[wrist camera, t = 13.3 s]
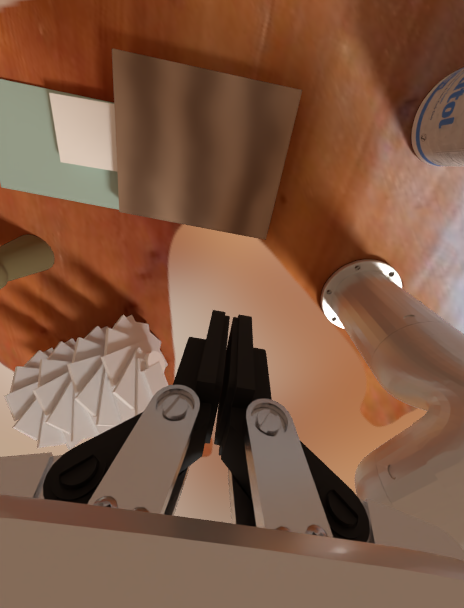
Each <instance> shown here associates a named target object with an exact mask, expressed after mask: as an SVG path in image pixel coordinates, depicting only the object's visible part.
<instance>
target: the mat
mask: <svg viewBox="0 0 464 608" xmlns="http://www.w3.org/2000/svg"><path fill="white" fill-rule="evenodd" d="M49 93H54V94H60V95H66V96H71V97H77V98H83V99H88V100H94V101H100V102H105V103H111V104H114V103H112V102H108V101H103V100H98V99H93V98H89V97H84V96H79V95H74V94H70V93H65V92H60V91H55V90H50V89H46V88H41V87H36V86H31V85H27V84H22V83H17V82H12V81H8V80H3V79H0V183H1V187H3V188H8V189H13V190H19V191H24V192H29V193H34V194H40V195H45V196H50V197H55V198H60V199H66V200H71V201H76V202H81V203H87V204H92V205H97V206H102V207H108V208H113V209H118V210H119V195H118V173H117V172H116V171H110V170H104V169H98V168H92V167H86V166H80V165H75V164H69V163H63V162H60V156H59V150H58V144H57V138H56V132H55V126H54V120H53V114H52V108H51V102H50V96H49Z"/></svg>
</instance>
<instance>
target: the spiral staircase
mask: <svg viewBox="0 0 464 608" xmlns="http://www.w3.org/2000/svg"><path fill="white" fill-rule="evenodd" d="M160 345H161V341H160V340H159V339H157V338H156V337H155V336H154V335H153V334H152V333H150V331H149V324H146V323H140V322H136V321H135V320H134V318H133V316H132V315H130V316H128V317H125V316H124V315H122V316H121V317H120V318H119V320H118V321H117V323H115V325H114V327H113V328H112V329H111V328H108V326H106V327H104V328H100V327H99V326H96V327H95V328H94V329H93V330H92V331H91V332H90V333H89V334H88V335H87V336H86V337H85V338H84V339H83V338H80V337H79V338H77V341H76V342H75V341H74V339H73V338H72V339H70V340H68V341H67V342H65V343H63V342H62V341H61V342H59V344H58V345H57V346H56V348H55V349H54V350H53V348H50V349H48V350H46V351H44V352H42V351H40V350H39V351H38V352H37V353H36V354H35V355H34V356H33V357H32V358H31V359H30V360H29V361H28V362H27V363H26V364H25V365H24V366H23V367H19V366H17V367H16V368H15V372H14V377H13V382H12V386H11V391H10V394H7V395H5V396H4V397H5V400H6V402H7V404H8V407H9V409H10V412H11V414H12V416H13V419H14V421H16V420H18V419H19V420H18V421H17V422H16V424H15V425H14V426H13V428H14V429H16V430H18V431H20V432H22V433H24V434H25V435H27V436H29V437H31V438H33V439H34V440H38V444H37V448H41V447H48V446H56V445H64V444H66V446H67V448H68V449H71V448H72V447H74V446H75V445H76V444H78V443H79V442H80V441H81V440H83V439H86V438H90V437H95V436H98V435H100V434H101V433H103V432H105V431H107V430H109V429H111V428H113V427H115V426H117V425H119V424H121V423H123V422H124V421H126V420H128V419H130V418H132V417H134V416H136V415H138V414H140V413H142V412H144V410H145V409H146V407H147V405H148V404H149V402H150V400H151V399H152V397H153V396H154V395H155V393H156V392H157V391H159V390H160V389H162V388H163V387H166V386H168V383H167V381H166V378H165V375H164V371H165V368H166V366H167V365H168V364H167V362H166V360H165V358H164V356H163V355H162V353H161V351H160Z"/></svg>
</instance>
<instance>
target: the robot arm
mask: <svg viewBox="0 0 464 608" xmlns="http://www.w3.org/2000/svg"><path fill="white" fill-rule="evenodd" d="M355 266H356V267H355ZM327 290H328V291H327ZM321 307H322V310H323V312H324V314H325V316H326V317H327V319H328V320H329V321H330V322H331V323H333V324H334V325H336V326H338V327H341V328H345V330H346V331H347V333H348V334H349V336H350V337H351V339H352V341H353V342H354V344H355V345H356V347H357V348H358V350H359V352H360V353H361V355H362V356H363V358H364V359H365V361H366V363H367V364H368V366H369V367H370V369H371V370H372V372H373V373H374V375H375V377H376V378H377V380H378V381H379V383H380V384H381V385H382V387H383V388H384V389H385V390H386V391H387V392H388V393H389V394H391V395H392V396H394V397H395V398H396V399H398V400H400V401H402V402H404V403H406V404H409V405H411V406H414V407H417V408H420V409H423V410H426V411H428V412H427V413H426V414H425V415H424V416H423V417H422V418H420V419H419V420H417V421H416V422H415V423H413V424H412V426H410V427H409V428H407V429H405V430H404V431H402V432H401V433H399V434H398V435H396V436H395V437H393V438H392V439H390V440H388V441H387V442H385V443H384V444H383V445H381V446H379V447H378V448H376V449H375V450H374V451H372V452H371V453H370V454H369V455H367V456H366V457H365V458H364V459H363V460H362V461H361V462H360V464H359V465H358V468H357V470H356V474H355V488H356V493H357V496H356V495H355V493H354V492H353V491H352V490H351V489H350V488H349V487H348V486H347V485H346V484H345V483H344V482H343V481H342V480H341V479H340V478H339V477H338V476H336V475H335V474H334V473H333V472H332V471H331V470H330V469H329V468H328V467H327V466H326V465H325V464H324V463H323V462H322V461H321V460H320V459H319V458H318V457H317V456H316V455H314V453H313V452H311V451H310V450H309V449H308V448H307V447H306V446H305V445H304V444H303V443H302V442H301V441H300V440H299V437H298V435H297V432H296V429H295V426H294V423H293V420H292V418H291V416H290V414H289V412H288V411H287V410H286V409H285V407H283V406H282V405H281V404H279V403H278V402H276V401H273V400H272V399H271V391H270V382H269V374H268V365H267V357H266V351H265V350H264V349H258V348H253V335H252V317H249V316H244V315H239V316H238V318H236V317H234V318H233V321H232V326H231V331H230V336H229V340H228V345H227V338H228V328H229V319H230V317H229V316H225V312H221V311H215V310H213V312H212V317H211V321H210V326H209V330H208V334H207V339H206V340H205V339H199V338H193V337H189V339H188V342H187V344H186V347H185V350H184V354H183V357H182V359H181V363H180V365H179V368H178V372H177V374H176V377H175V380H174V383H173V385H169V386H166V387H163V388H162V389H160V390H159V391H157V392H156V393H155V395H154V396H153V397H152V399H151V400H150V402H149V404H148V405H147V407H146V409H145V410H144V412H142V413H140V414H138V415H136V416H134V417H132V418H130V419H128V420H126V421H124V422H123V423H121V424H119V425H117V426H115V427H113V428H111V429H109V430H107V431H105V432H103V433H101V434H100V435H98V436H96V437H94V438H92V439H90V440H88V441H86V442H84V443H82V444H80V445H78V446H77V447H75V448H73V449H71V450H70V451H68V452H66V453H65V454H63V455H60V456H53V455H52V453H41V454H30V455H19V456H7V457H0V608H464V334H463V333H461V332H460V331H459V330H457V329H456V328H455V327H453V326H452V325H451V324H449V323H448V322H447V321H445V320H444V319H443V318H441V317H440V316H438V315H437V314H436V313H434V312H433V311H432V310H430V309H429V308H428V307H426V306H425V305H424V304H422V302H421V301H418V300H417V299H416V298H414V297H413V296H412V295H410V294H409V293H407V292H406V291H405V290H403V289H402V281H401V278H400V276H399V274H398V273H397V271H396V270H395V269H394V268H392V267H391V266H390V265H388V264H386V263H384V262H382V261H379V260H373V259H364V260H358V261H354V262H352V263H349V264H347V265H345V266H343V267H341V268H340V269H339V270H337V271H336V272H335V273H334V274H333V275H332V276H331V277H330V278H329V279H328V281H327V282H326V283H325V285H324V287H323V290H322V293H321ZM226 348H227V350H226ZM218 404H219V405H218ZM217 408H218V414H217V423H216V432H215V442H214V444H216V445H220V447H219V455H221V459H222V461H223V462H224V463H225V465H226V466H227V467H228V481H229V494H230V507H231V519H232V524H231V523H223V522H215V521H209V520H201V519H194V518H186V517H179V516H174V513H175V510H176V507H177V504H178V501H179V498H180V495H181V492H182V489H183V486H184V483H185V480H186V477H187V474H188V471H189V467H190V465H191V464H192V463H194V462H195V461H196V460H197V459H199V458H200V457H202V454H203V449H204V444H205V443H209V444H210V440H211V435H212V431H213V426H214V422H215V417H216V413H217Z"/></svg>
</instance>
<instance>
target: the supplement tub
mask: <svg viewBox="0 0 464 608" xmlns="http://www.w3.org/2000/svg"><path fill="white" fill-rule="evenodd" d="M411 138H412V146H413V149H414V152H415V154H416V155H417V157H418V158H419V159H420V160H421V161H423V162H424V163H426V164H428V165H432V166H464V67H463V68H461V69H459V70H457V71H455V72H453V73H451V74H450V75H448V76H447V77H445V78H444V79H443V80H441V81H440V82H439V83H438V84H437V85H436V86H435V87H434V88H433V89H432V90H431V91H430V92H429V93H428V95H427V96H426V97H425V99H424V100H423V102H422V103H421V105H420V107H419V109H418V111H417V113H416V116H415V119H414V123H413V127H412V137H411Z"/></svg>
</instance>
